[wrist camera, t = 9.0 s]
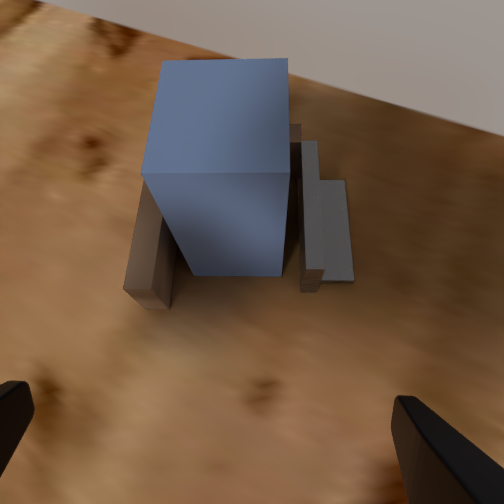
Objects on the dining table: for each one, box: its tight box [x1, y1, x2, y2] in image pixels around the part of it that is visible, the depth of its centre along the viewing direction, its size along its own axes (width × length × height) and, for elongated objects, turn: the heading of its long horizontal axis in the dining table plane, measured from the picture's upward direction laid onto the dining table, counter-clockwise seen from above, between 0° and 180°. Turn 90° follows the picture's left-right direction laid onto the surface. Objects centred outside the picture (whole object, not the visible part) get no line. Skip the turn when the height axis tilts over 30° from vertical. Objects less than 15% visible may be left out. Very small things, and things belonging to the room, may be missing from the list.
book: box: [141, 58, 290, 277], centre depth 16 cm, size 5×4×8 cm
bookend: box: [297, 141, 354, 292], centre depth 18 cm, size 7×3×3 cm, turn 178°
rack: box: [123, 124, 301, 310], centre depth 18 cm, size 9×8×3 cm
